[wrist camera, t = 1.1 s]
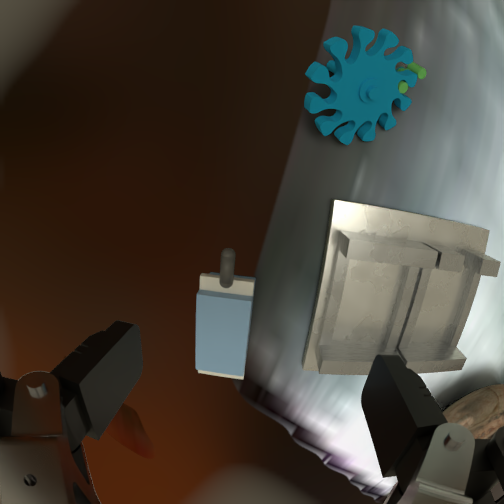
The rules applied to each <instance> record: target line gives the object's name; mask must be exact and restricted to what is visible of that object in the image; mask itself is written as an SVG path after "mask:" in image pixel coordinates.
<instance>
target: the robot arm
mask: <svg viewBox="0 0 504 504" xmlns="http://www.w3.org/2000/svg"><path fill="white" fill-rule="evenodd" d="M142 366H143V360H142V350H141V339H140V330H139V327H138V325H136V324H132V323H127V322H122V321H119V320H117V321H115V322H114V323H113V324H112V325H111V326H110V327H108V328H107V329H106V330H105V331H100V332H97V333H95V334H93V335H91V336H89V337H88V338H87V339H86V340H85V341H84V342H82V344H81V345H79V346H78V347H77V348H76V349H75V351H74V352H72V353H70V354H69V355H68V356H67V357H66V358H65V359H64V360H63V361H62V362H61V363H60V364H59V365H57V366H56V367H55V368H54V369H53V370H52V371H51V372H50V373H48V372H44V371H35V372H30V373H28V374H25V375H24V376H22V377H21V378H20V379H19V380H14V379H9V378H5V377H2V375H1V372H0V494H1V504H101V503H100V501H99V499H98V497H97V495H96V492H95V489H94V486H93V483H92V479H91V475H90V471H89V468H88V464H87V459H86V455H85V451H84V446H83V443H82V440H83V439H84V437H85V436H86V435H87V436H89V437H92V438H94V439H97V440H99V439H100V437H101V435H102V434H103V432H104V431H105V429H106V428H107V426H108V425H109V423H110V422H111V420H112V419H113V417H114V416H115V414H116V413H117V411H118V409H119V408H120V406H121V405H122V403H123V402H124V400H125V399H126V397H127V396H128V394H129V393H130V391H131V390H132V388H133V387H134V385H135V384H136V382H137V381H138V379H139V378H140V375H141V372H142ZM361 404H362V408H363V412H364V415H365V418H366V421H367V424H368V428H369V431H370V434H371V438H372V441H373V444H374V448H375V451H376V455H377V458H378V462H379V465H380V469H381V472H382V476H383V478H384V477H391V476H397V479H398V481H397V482H396V484H395V485H394V486H393V488H392V490H391V492H390V494H389V495H388V497H387V499H386V500H385V502H384V504H496V503H495V501H494V498H493V496H492V493H491V491H490V490H491V489H492V488H493V487H494V486H495V485H496V484H497V483H498V482H500V484H501V486H502V489H503V491H504V426H503V427H500V428H499V429H498V430H497V432H496V433H495V434H494V436H493V437H492V438H491V439H474V436H473V435H472V433H471V432H470V431H469V430H468V429H467V428H466V427H464V426H462V425H460V424H456V423H448V421H447V420H446V418H445V416H444V415H443V413H442V411H441V409H440V408H439V406H438V404H437V403H436V401H435V399H434V398H433V396H431V393H430V391H429V390H428V388H426V385H425V383H424V382H423V380H422V379H421V377H420V376H419V375H418V374H416V373H415V372H414V371H413V370H411V369H410V368H407V367H406V365H405V364H404V362H403V360H402V359H401V357H400V356H399V355H385V354H378V355H377V356H376V357H375V359H374V361H373V364H372V366H371V369H370V372H369V375H368V377H367V380H366V383H365V385H364V388H363V391H362V396H361Z"/></svg>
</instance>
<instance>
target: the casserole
mask: <svg viewBox="0 0 504 504" xmlns="http://www.w3.org/2000/svg"><path fill="white" fill-rule="evenodd" d="M496 504H504V495H503V496H502V497H501V498H500V499H499V500H498V501H497V503H496Z"/></svg>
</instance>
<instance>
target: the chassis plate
mask: <svg viewBox="0 0 504 504" xmlns="http://www.w3.org/2000/svg"><path fill="white" fill-rule="evenodd" d="M488 236H489V230H486V229H484V228H480V227H476V226H472V225H467V224H463V223H459V222H454V221H450V220H445V219H441V218H436V217H432V216H427V215H422V214H417V213H412V212H407V211H401V210H396V209H391V208H385V207H379V206H374V205H368V204H362V203H355V202H349V201H343V200H336V199H332V202H331V209H330V216H329V223H328V230H327V237H326V243H325V249H324V255H323V261H322V267H321V273H320V278H319V284H318V289H317V294H316V300H315V305H314V310H313V315H312V320H311V324H310V329H309V334H308V338H307V343H306V347H305V352H304V356H303V360H302V368H303V370H310V371H319V374H338V375H369V372H370V369H371V366H372V364H373V361H374V359H375V357H376V356H377V355H378V354H385V355H399V356H400V357H401V359H402V360H403V362H404V364H405V365H406V367H407V368H410V369H411V370H413V371H414V372H415V373H416V374H418V373H433V372H445V371H455V370H462V367H463V365H464V363H465V361H466V359H467V358H466V357H465V356H464V355H463V354H462V352H461V351H460V350H459V349H458V348H457V347H456V346H457V344H458V341H459V339H460V336H461V334H462V331H463V329H464V326H465V323H466V321H467V318H468V315H469V312H470V309H471V306H472V303H473V300H474V297H475V294H476V291H477V287H478V284H479V281H480V277H481V275H485V276H493V277H497V274H498V270H499V267H500V263H501V262H500V261H497V260H495V259H493V258H491V257H489V256H487V255H485V250H486V245H487V241H488Z"/></svg>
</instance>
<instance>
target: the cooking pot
mask: <svg viewBox="0 0 504 504" xmlns="http://www.w3.org/2000/svg"><path fill="white" fill-rule="evenodd" d="M442 413H443V415H444V416H445V418H446V420H447V421H448V423H456V424H460V425H462V426H464V427H466V428H467V429H468V430H469V431H470V432H471V433H472V435H473V436H474V439H491V438H492V437H493V436H494V434H495V433H496V432H497V430H498V429H499V428H500V427H503V426H504V384H497V385H490V386H487V387H483V388H481V389H478V390H476V391H474V392H472V393H470V394H468V395H466V396H464V397H463V398H461V399H459V400H458V401H456V402H454V403H453V404H451V405H450V406H449V407H448V408H446V409H445V410H444V411H443V412H442Z"/></svg>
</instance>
